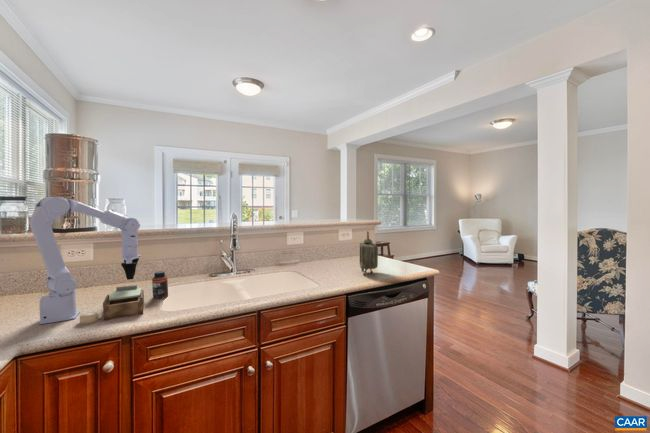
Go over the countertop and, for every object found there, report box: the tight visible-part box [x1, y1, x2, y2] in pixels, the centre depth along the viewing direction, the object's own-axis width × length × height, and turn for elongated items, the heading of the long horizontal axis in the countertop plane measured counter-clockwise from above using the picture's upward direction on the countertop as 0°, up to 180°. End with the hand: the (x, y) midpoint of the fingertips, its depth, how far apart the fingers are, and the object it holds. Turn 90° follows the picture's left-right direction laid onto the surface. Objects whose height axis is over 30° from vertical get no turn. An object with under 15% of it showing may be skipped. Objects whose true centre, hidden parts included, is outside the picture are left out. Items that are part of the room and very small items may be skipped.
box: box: [102, 289, 145, 321], centre depth 111 cm, size 12×11×6 cm
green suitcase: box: [359, 230, 379, 277], centre depth 169 cm, size 14×9×25 cm, turn 178°
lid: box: [109, 284, 142, 301], centre depth 116 cm, size 10×11×2 cm
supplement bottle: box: [151, 270, 169, 300], centre depth 128 cm, size 6×6×11 cm
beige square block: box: [79, 311, 99, 326], centre depth 102 cm, size 5×5×3 cm
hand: (131, 277), depth 124 cm, fingers open, 7 cm apart
